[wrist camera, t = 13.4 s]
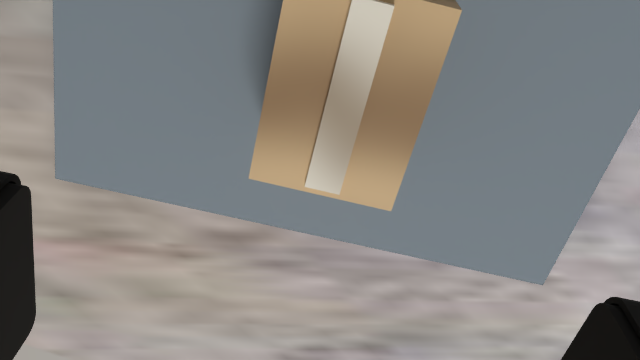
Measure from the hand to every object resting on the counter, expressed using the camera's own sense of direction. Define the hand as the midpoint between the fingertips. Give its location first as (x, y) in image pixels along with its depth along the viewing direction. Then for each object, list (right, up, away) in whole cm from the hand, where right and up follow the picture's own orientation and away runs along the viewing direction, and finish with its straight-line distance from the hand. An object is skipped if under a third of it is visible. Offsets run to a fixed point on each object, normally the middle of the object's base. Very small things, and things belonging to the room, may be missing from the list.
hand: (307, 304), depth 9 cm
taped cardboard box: (+1, +6, +12) cm, 13 cm away
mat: (+1, +7, +12) cm, 14 cm away
